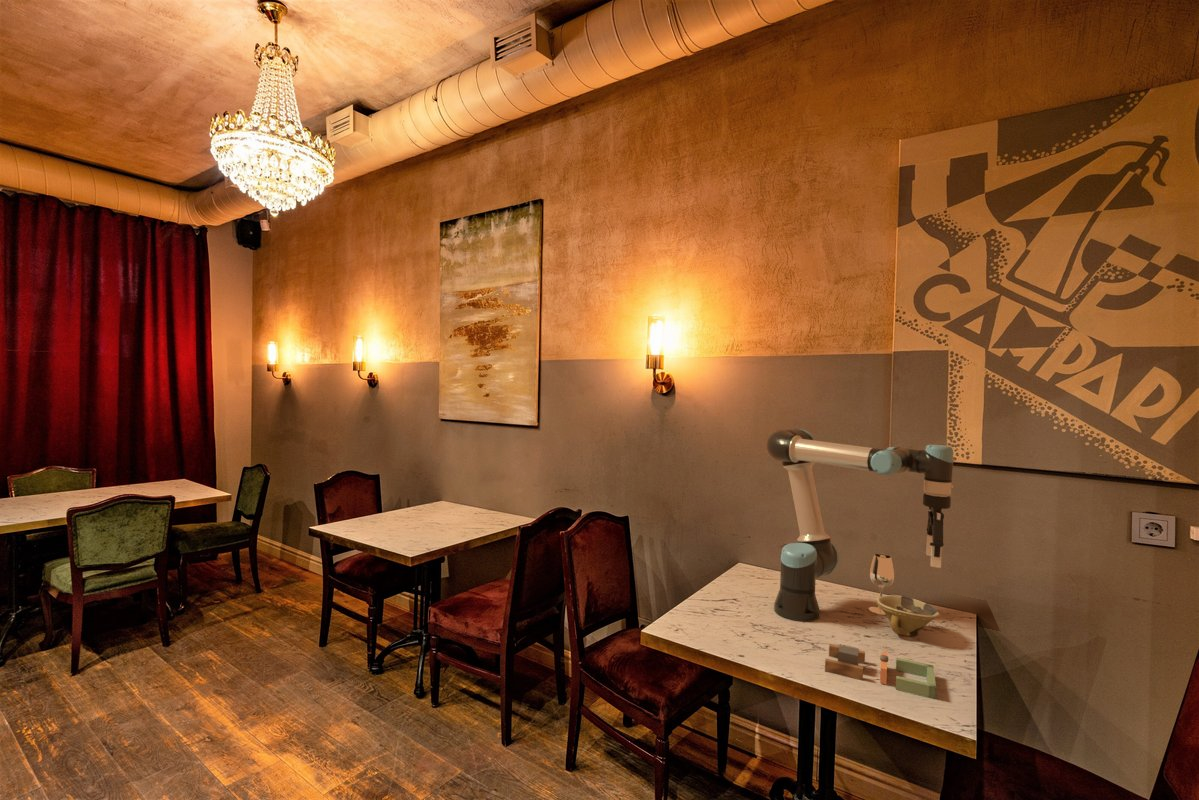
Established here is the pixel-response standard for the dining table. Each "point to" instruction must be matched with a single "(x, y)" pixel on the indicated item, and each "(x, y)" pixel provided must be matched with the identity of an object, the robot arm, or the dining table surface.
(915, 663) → the bracket
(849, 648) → the block
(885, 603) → the bowl
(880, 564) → the wineglass
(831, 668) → the clip rails
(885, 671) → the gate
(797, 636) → the dining table surface
